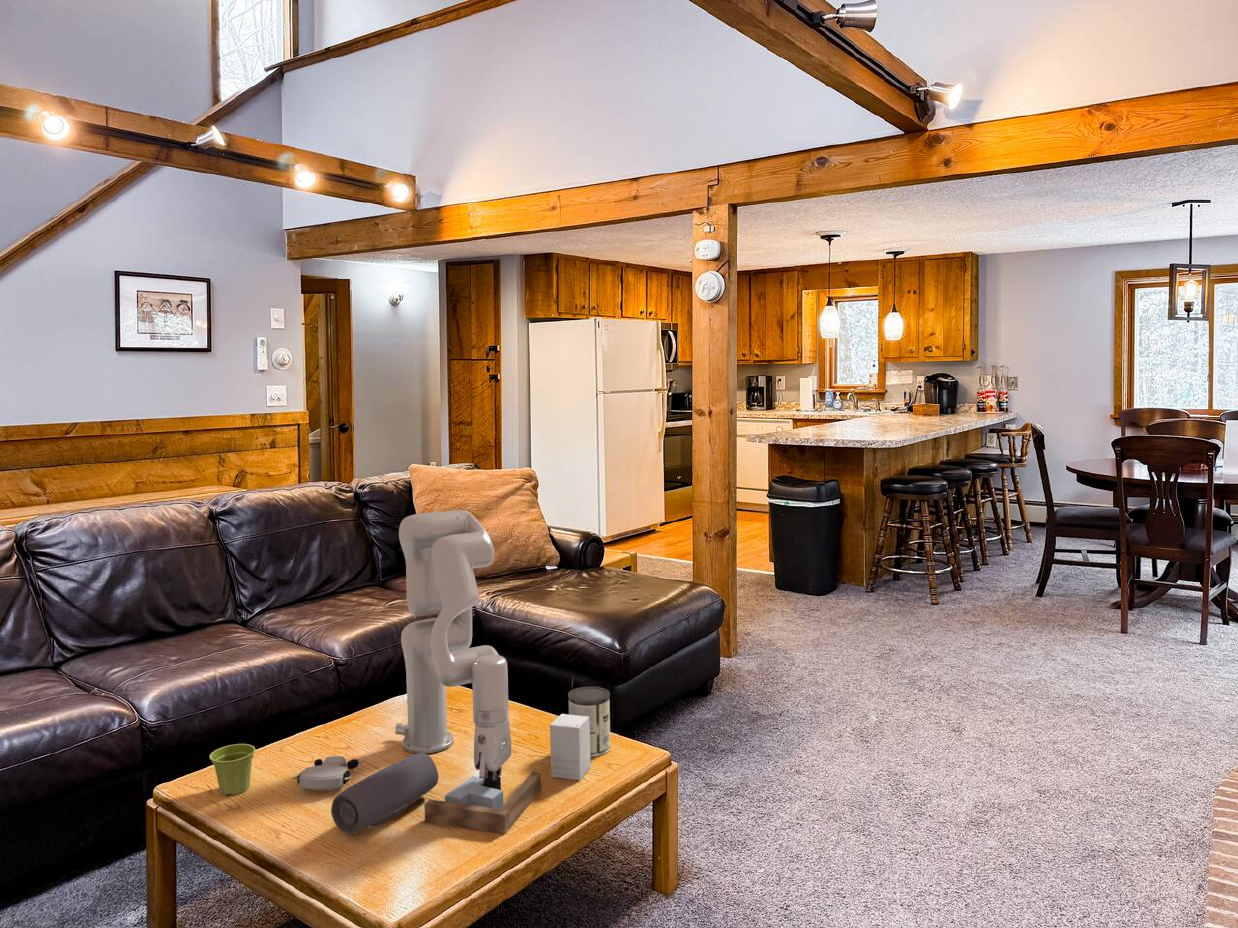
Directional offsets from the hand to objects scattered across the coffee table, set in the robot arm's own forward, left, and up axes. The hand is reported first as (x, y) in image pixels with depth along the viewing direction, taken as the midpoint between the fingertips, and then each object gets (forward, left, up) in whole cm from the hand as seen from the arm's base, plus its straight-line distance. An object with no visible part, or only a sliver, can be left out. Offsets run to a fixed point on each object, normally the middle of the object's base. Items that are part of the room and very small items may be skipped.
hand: (492, 794), depth 196 cm
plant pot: (-58, -11, -1) cm, 59 cm away
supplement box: (+12, +17, -1) cm, 21 cm away
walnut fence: (0, -3, -1) cm, 3 cm away
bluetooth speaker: (-19, -12, -2) cm, 22 cm away
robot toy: (-40, -2, -2) cm, 40 cm away
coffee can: (+12, +31, -1) cm, 34 cm away
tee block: (-3, -4, -1) cm, 5 cm away
